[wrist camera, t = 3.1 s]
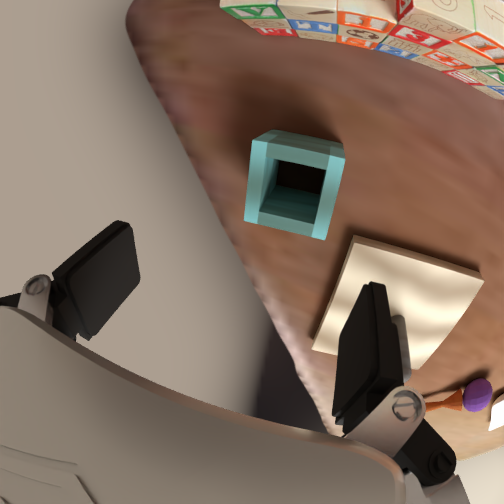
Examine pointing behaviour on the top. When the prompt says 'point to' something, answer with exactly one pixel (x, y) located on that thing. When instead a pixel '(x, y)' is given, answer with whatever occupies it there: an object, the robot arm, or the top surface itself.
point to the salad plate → (497, 413)
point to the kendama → (467, 397)
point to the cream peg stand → (401, 297)
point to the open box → (288, 199)
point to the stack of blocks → (396, 31)
